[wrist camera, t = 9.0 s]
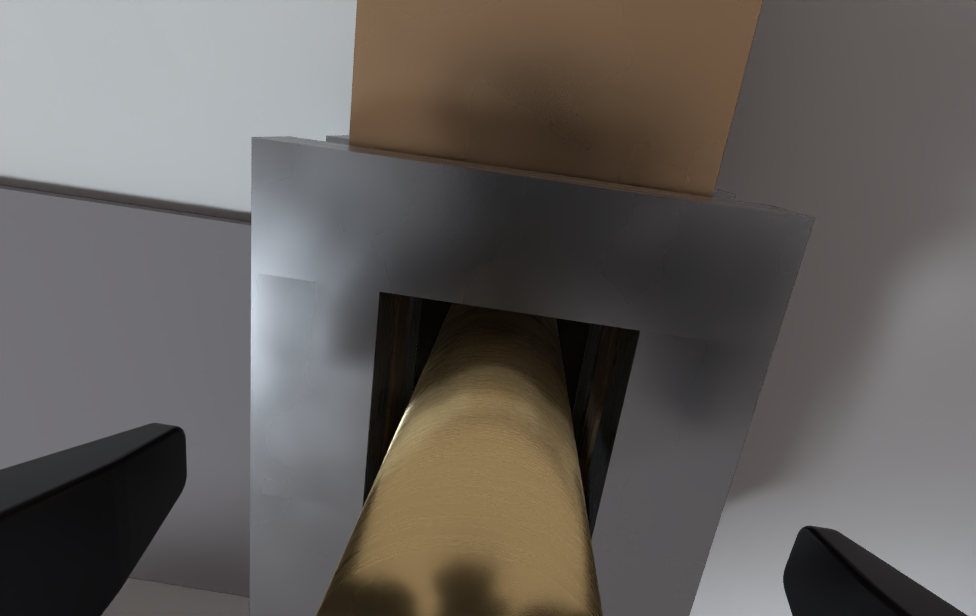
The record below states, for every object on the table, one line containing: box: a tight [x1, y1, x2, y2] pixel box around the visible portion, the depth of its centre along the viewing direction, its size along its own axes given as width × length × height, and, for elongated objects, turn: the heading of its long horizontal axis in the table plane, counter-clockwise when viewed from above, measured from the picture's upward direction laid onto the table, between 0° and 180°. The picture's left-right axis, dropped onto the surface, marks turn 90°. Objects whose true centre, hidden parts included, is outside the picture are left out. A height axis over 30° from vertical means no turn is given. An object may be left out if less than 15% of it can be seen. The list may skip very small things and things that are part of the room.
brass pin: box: [316, 303, 603, 616], centre depth 10 cm, size 3×3×10 cm
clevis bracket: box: [250, 0, 815, 616], centre depth 12 cm, size 16×9×5 cm, turn 172°
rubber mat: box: [0, 185, 251, 597], centre depth 16 cm, size 12×12×1 cm
